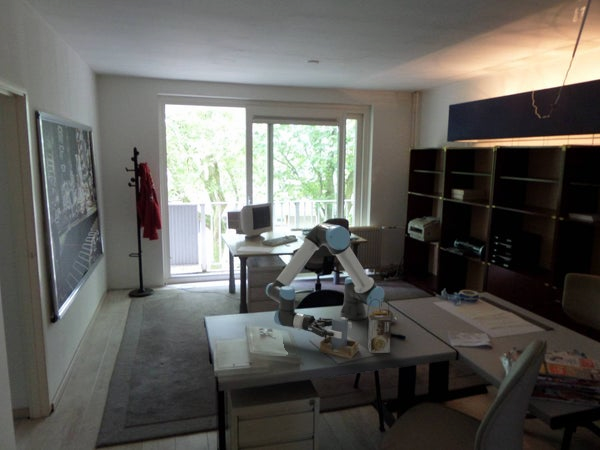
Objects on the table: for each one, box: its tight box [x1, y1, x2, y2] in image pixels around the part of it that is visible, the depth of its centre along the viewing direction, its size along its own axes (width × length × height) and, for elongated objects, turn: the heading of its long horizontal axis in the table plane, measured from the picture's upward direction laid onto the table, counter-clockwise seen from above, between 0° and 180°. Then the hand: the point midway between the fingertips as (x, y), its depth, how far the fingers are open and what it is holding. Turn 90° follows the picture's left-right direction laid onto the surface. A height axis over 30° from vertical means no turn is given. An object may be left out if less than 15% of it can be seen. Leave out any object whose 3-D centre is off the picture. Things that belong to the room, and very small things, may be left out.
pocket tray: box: [318, 336, 359, 359], centre depth 195 cm, size 10×16×4 cm
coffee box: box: [367, 314, 392, 354], centre depth 196 cm, size 9×6×16 cm
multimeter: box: [366, 297, 394, 339], centre depth 210 cm, size 15×10×20 cm
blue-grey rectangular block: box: [329, 315, 350, 350], centre depth 194 cm, size 5×10×15 cm, turn 64°
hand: (346, 330), depth 193 cm, fingers open, 13 cm apart
